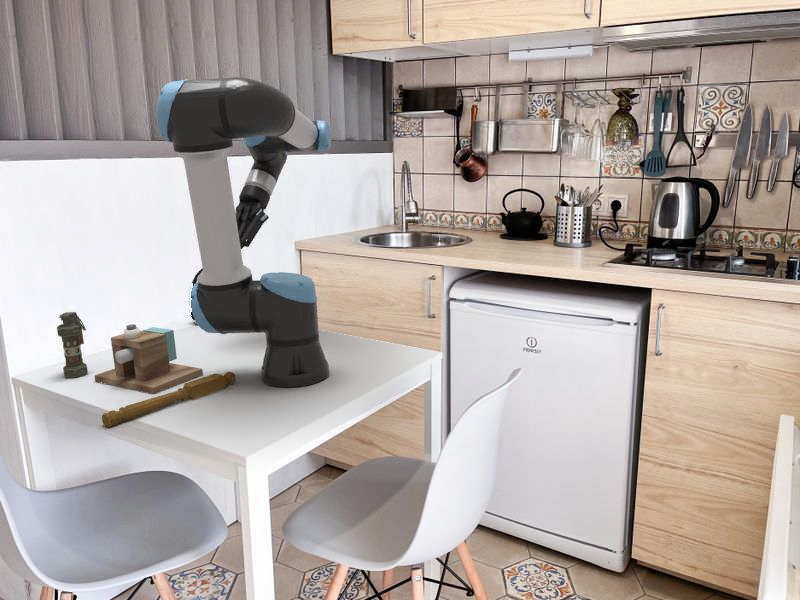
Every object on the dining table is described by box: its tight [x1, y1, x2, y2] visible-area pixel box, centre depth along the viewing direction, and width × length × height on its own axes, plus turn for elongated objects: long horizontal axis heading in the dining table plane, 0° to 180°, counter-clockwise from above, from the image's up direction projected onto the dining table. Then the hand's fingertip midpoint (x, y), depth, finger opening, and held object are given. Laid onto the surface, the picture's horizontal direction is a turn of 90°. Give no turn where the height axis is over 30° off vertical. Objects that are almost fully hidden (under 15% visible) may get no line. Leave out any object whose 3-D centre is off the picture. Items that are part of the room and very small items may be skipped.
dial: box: [123, 323, 141, 340], centre depth 150 cm, size 3×3×3 cm
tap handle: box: [101, 371, 237, 428], centre depth 139 cm, size 3×3×30 cm
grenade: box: [56, 311, 88, 379], centre depth 159 cm, size 6×6×15 cm
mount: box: [94, 329, 204, 395], centre depth 154 cm, size 20×14×10 cm
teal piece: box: [115, 326, 178, 364], centre depth 153 cm, size 7×12×7 cm, turn 149°
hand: (224, 269), depth 170 cm, fingers closed
